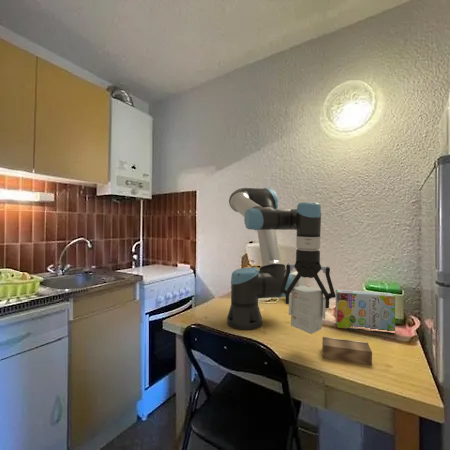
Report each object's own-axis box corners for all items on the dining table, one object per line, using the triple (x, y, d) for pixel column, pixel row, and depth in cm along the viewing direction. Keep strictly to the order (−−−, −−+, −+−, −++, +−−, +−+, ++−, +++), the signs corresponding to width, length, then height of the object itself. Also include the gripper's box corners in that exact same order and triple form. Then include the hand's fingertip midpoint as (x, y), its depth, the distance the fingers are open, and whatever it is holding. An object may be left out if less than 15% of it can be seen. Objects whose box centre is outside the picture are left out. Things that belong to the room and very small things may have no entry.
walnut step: (323, 357, 85) (323, 344, 85) (322, 348, 91) (322, 336, 91) (371, 364, 81) (372, 351, 81) (367, 355, 86) (367, 342, 86)
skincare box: (295, 298, 151) (295, 271, 151) (305, 300, 146) (306, 272, 146) (287, 301, 145) (287, 273, 144) (298, 303, 140) (298, 274, 140)
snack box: (390, 329, 108) (391, 292, 108) (395, 334, 103) (395, 296, 102) (335, 323, 114) (335, 288, 114) (336, 328, 109) (337, 291, 108)
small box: (322, 329, 87) (323, 290, 86) (310, 334, 83) (312, 294, 82) (301, 321, 93) (302, 285, 93) (290, 325, 89) (291, 287, 89)
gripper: (272, 249, 87) (271, 315, 88) (346, 252, 80) (344, 324, 81) (274, 246, 94) (273, 307, 95) (343, 249, 87) (342, 315, 88)
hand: (306, 315), depth 88 cm, fingers closed on small box, 10 cm apart
